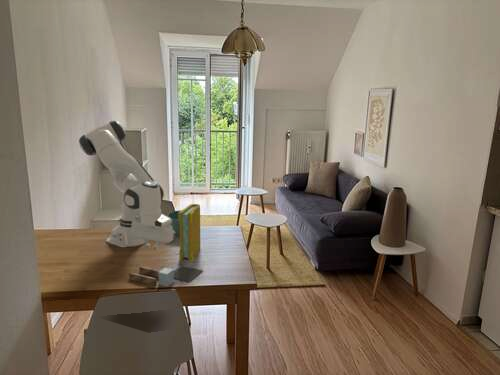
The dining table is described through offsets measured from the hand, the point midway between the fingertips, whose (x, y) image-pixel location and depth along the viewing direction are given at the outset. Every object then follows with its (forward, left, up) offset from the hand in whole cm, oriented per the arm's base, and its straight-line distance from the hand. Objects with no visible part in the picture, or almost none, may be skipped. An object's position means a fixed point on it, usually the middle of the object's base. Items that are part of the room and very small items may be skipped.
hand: (152, 248), depth 165 cm
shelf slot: (-3, 0, -15) cm, 15 cm away
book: (0, +33, -15) cm, 36 cm away
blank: (+7, 0, -15) cm, 17 cm away
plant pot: (-20, +57, -15) cm, 62 cm away
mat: (+10, +11, -15) cm, 21 cm away
